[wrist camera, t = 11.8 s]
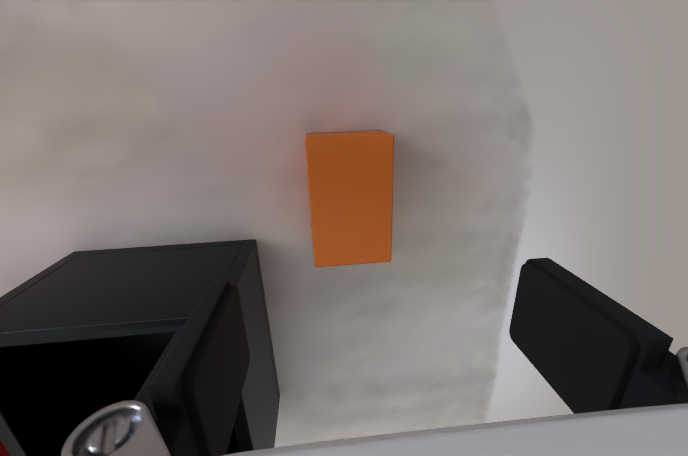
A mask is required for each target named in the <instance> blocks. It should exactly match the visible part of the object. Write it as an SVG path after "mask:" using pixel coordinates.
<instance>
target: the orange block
mask: <svg viewBox="0 0 688 456" xmlns="http://www.w3.org/2000/svg"><path fill="white" fill-rule="evenodd" d="M305 150H306V162H307V175H308V187H309V199H310V212H311V224H312V237H313V249H314V262H315V267H323V266H337V265H350V264H363V263H377V262H390V261H391V246H392V199H393V153H394V136H393V135H391V134H389V133H386V132H384V131H381V130H375V131H354V132H332V133H310V134H306V138H305Z"/></svg>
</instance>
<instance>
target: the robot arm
mask: <svg viewBox="0 0 688 456" xmlns="http://www.w3.org/2000/svg"><path fill="white" fill-rule="evenodd" d="M509 331H510V336H511V339H512V340H513V342H514V343H515V344H516V345H517V347H518V348H519V349H520V350H521V351H522V352H523V354H524V355H525V356H526V357H527V358H528V360H529V361H530V362H531V363H532V364H533V365H534V367H535V368H536V369H537V370H538V371H539V372H540V374H541V375H542V376H543V377H544V378H545V380H546V381H547V382H548V383H549V384H550V386H551V387H552V388H553V389H554V390H555V391H556V393H557V394H558V395H559V396H560V397H561V398H562V400H563V401H564V402H565V403H566V404H567V406H568V407H569V408H570V409H571V410H572V411H573V413H574V414H568V415H558V416H549V417H539V418H529V419H520V420H511V421H503V422H493V423H483V424H474V425H465V426H455V427H446V428H437V429H428V430H419V431H410V432H401V433H393V434H384V435H375V436H366V437H358V438H349V439H340V440H332V441H323V442H314V443H306V444H299V445H291V446H284V447H276V448H268V449H261V450H253V451H246V452H239V453H233V454H227V455H226V453H227V450H228V446H229V442H230V438H231V434H232V430H233V426H234V422H235V418H236V414H237V410H238V406H239V403H240V399H241V395H242V391H243V387H244V383H245V379H246V375H247V371H248V367H249V362H250V353H249V347H248V341H247V336H246V330H245V324H244V319H243V313H242V308H241V302H240V297H239V291H238V287H237V285H232V284H231V282H230V281H222V282H210V284H209V285H208V287H207V288H206V290H205V292H204V293H203V295H202V297H201V298H200V300H199V302H198V303H197V305H196V307H195V308H194V310H193V312H192V313H191V315H190V317H189V318H188V320H187V322H186V323H185V325H184V327H181V328H179V329H178V330H177V331H176V333H175V334H174V336H173V337H172V339H171V341H170V342H169V344H168V345H167V347H166V349H165V350H164V352H163V354H162V355H161V357H160V358H159V360H158V362H157V363H156V365H155V366H154V368H153V370H152V371H151V373H150V375H149V376H148V378H147V379H146V381H145V383H144V384H143V386H142V387H141V389H140V391H139V392H138V394H137V396H136V397H135V399H134V400H129V401H122V402H118V403H114V404H111V405H109V406H107V407H105V408H102V409H100V410H99V411H97V412H96V413H94V414H92V415H91V416H89V417H88V418H87V419H86V420H84V421H83V422H82V423H81V424H80V425H79V426H77V427H76V429H75V430H74V431H73V432H72V433H71V435H70V436H69V437H68V438H67V440H66V442H65V444H64V446H63V448H62V453H61V456H688V347H684V348H681V349H680V350H679V351H678V352H677V354H676V355H674V354H673V353H671V352H670V351H668V350H669V347H670V345H671V343H672V341H673V338H672V337H670V336H668V335H667V334H665V333H664V332H662V331H661V330H659V329H658V328H656V327H655V326H653V325H652V324H650V323H648V322H647V321H645V320H644V319H642V318H640V317H639V316H638V315H636V314H634V313H633V312H631V311H630V310H628V309H627V308H625V307H624V306H622V305H621V304H619V303H617V302H616V301H614V300H613V299H611V298H610V297H608V296H607V295H605V294H603V293H602V292H600V291H599V290H597V289H596V288H594V287H593V286H591V285H589V284H588V283H586V282H585V281H583V280H582V279H580V278H579V277H577V276H576V275H574V274H573V273H571V272H569V271H568V270H566V269H564V268H563V267H562V266H560V265H559V264H557V263H555V262H554V261H552V260H551V259H549V258H538V259H529V260H527V262H526V263H525V264H524V265H522V267H521V271H520V277H519V282H518V287H517V292H516V298H515V303H514V308H513V314H512V319H511V324H510V330H509Z"/></svg>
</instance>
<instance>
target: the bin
mask: <svg viewBox="0 0 688 456" xmlns="http://www.w3.org/2000/svg"><path fill="white" fill-rule="evenodd" d="M222 281H230V282H231V284H232V285H237V287H238V291H239V297H240V302H241V308H242V313H243V319H244V324H245V330H246V336H247V341H248V347H249V353H250V362H249V367H248V371H247V375H246V379H245V383H244V387H243V391H242V395H241V399H240V403H239V406H238V410H237V414H236V418H235V422H234V426H233V430H232V434H231V438H230V442H229V446H228V450H227V453H226V455H227V454H233V453H239V452H246V451H253V450H261V449H268V448H274V443H275V435H276V426H277V417H278V408H279V399H280V393H279V387H278V380H277V374H276V367H275V361H274V354H273V348H272V341H271V335H270V328H269V322H268V315H267V309H266V302H265V296H264V289H263V283H262V276H261V270H260V263H259V257H258V250H257V243H256V240H242V241H227V242H213V243H198V244H183V245H169V246H154V247H140V248H125V249H110V250H96V251H81V252H73V253H71V254H70V255H68V256H66V257H65V258H63V259H61V260H60V261H58V262H56V263H55V264H53V265H52V266H50V267H48V268H47V269H45V270H44V271H42V272H40V273H39V274H37V275H36V276H34V277H32V278H31V279H29V280H28V281H26V282H24V283H23V284H21V285H20V286H18V287H16V288H15V289H13V290H11V291H10V292H8V293H7V294H5V295H3V296H2V297H0V440H1V442H2V444H3V445H4V447H5V448H6V450H7V451H8V453H9V454H10V456H61V453H62V448H63V446H64V444H65V442H66V440H67V438H68V437H69V436H70V435H71V433H72V432H73V431H74V430H75V429H76V427H77V426H79V425H80V424H81V423H82V422H83V421H84V420H86V419H87V418H88V417H89V416H91V415H92V414H94V413H96V412H97V411H99V410H100V409H102V408H105V407H107V406H109V405H111V404H114V403H118V402H122V401H129V400H134V399H135V397H136V396H137V394H138V392H139V391H140V389H141V387H142V386H143V384H144V383H145V381H146V379H147V378H148V376H149V375H150V373H151V371H152V370H153V368H154V366H155V365H156V363H157V362H158V360H159V358H160V357H161V355H162V354H163V352H164V350H165V349H166V347H167V345H168V344H169V342H170V341H171V339H172V337H173V336H174V334H175V333H176V331H177V330H178V329H179V328H181V327H184V325H185V323H186V322H187V320H188V318H189V317H190V315H191V313H192V312H193V310H194V308H195V307H196V305H197V303H198V302H199V300H200V298H201V297H202V295H203V293H204V292H205V290H206V288H207V287H208V285H209V284H210V282H222Z"/></svg>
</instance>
